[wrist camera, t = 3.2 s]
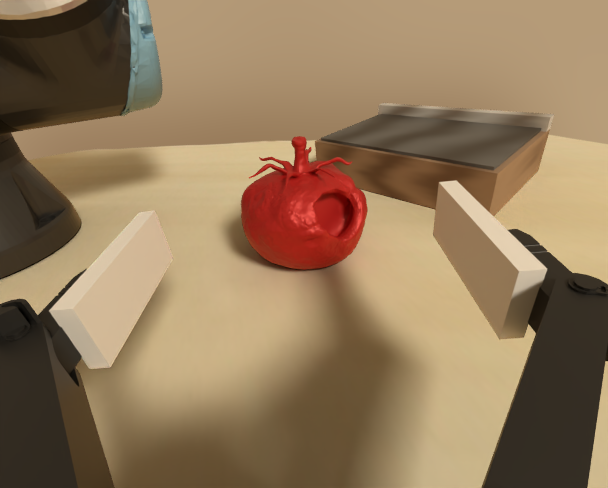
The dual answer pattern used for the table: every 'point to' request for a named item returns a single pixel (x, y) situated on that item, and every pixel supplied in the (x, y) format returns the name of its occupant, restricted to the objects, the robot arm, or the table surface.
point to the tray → (440, 152)
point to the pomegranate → (303, 212)
